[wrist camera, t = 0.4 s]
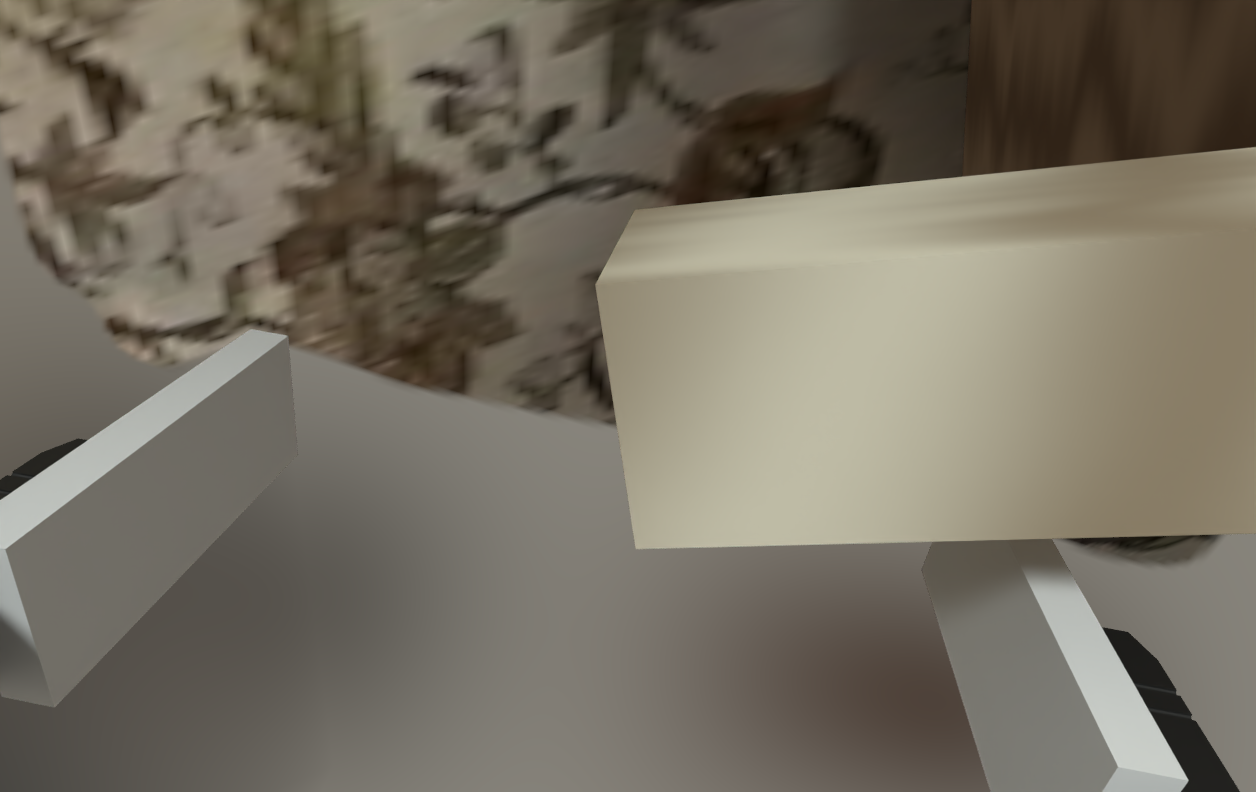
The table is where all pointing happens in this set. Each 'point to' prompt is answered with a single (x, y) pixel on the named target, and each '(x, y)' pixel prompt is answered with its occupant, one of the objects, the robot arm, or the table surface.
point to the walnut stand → (1107, 81)
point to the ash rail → (942, 359)
